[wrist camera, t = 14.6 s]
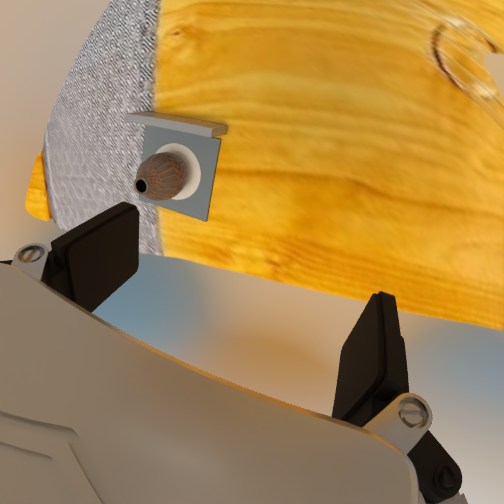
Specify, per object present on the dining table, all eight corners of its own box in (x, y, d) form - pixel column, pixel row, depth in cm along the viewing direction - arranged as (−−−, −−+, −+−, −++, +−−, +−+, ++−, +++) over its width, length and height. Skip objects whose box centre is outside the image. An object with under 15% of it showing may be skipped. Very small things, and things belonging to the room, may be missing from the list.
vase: (149, 164, 44) (113, 178, 36) (178, 140, 41) (143, 149, 33) (172, 199, 46) (139, 220, 38) (203, 178, 42) (171, 195, 35)
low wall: (146, 111, 40) (126, 113, 36) (227, 125, 38) (212, 128, 34) (145, 118, 41) (125, 121, 37) (226, 134, 39) (210, 137, 34)
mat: (147, 124, 41) (145, 124, 41) (221, 139, 39) (220, 139, 39) (140, 198, 48) (138, 199, 47) (207, 220, 46) (205, 221, 45)
